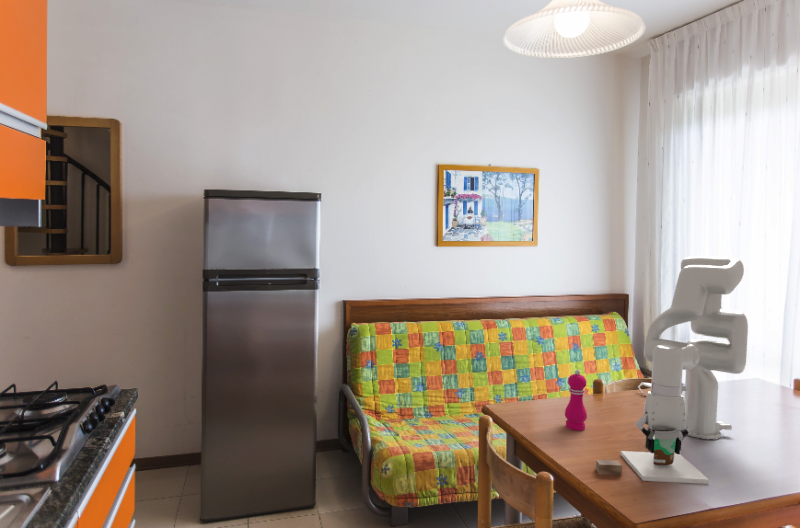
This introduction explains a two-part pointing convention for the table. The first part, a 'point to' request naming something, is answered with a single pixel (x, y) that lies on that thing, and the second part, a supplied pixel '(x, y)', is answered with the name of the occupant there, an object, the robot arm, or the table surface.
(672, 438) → the food container
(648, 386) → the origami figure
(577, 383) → the pepper mill
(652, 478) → the platter
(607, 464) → the walnut block
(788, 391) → the table surface
